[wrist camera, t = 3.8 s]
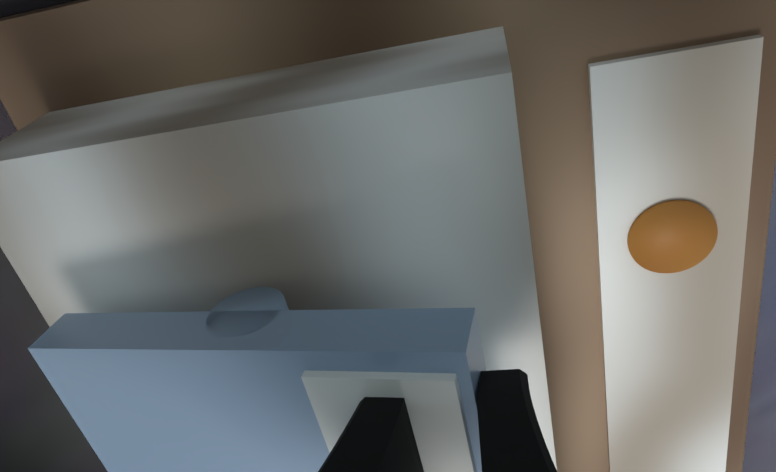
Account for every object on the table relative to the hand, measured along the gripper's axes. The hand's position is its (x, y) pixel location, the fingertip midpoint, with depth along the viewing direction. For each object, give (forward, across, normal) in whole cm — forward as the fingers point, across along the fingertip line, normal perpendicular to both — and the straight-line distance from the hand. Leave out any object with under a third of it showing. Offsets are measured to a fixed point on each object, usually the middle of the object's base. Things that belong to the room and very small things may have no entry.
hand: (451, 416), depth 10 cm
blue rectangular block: (+2, +3, 0) cm, 4 cm away
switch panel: (+6, +2, +5) cm, 8 cm away
